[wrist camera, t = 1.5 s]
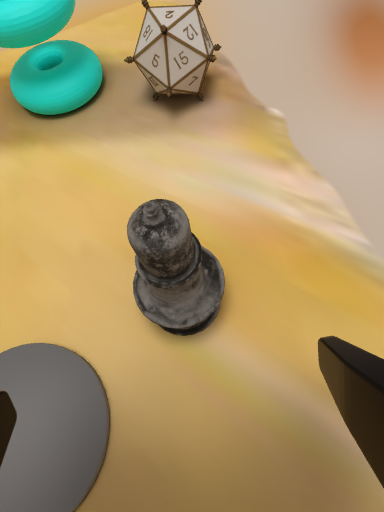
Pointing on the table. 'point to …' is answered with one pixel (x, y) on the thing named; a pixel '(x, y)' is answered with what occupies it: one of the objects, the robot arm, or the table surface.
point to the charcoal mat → (51, 429)
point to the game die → (174, 49)
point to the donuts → (47, 57)
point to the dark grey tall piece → (173, 269)
